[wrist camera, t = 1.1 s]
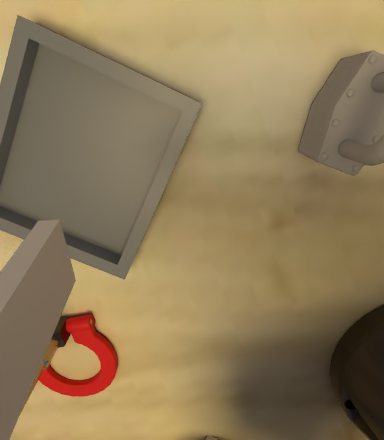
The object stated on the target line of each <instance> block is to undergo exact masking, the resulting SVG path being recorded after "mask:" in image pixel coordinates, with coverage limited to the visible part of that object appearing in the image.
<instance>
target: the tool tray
mask: <svg viewBox="0 0 384 440" xmlns="http://www.w3.org/2000/svg"><path fill="white" fill-rule="evenodd" d="M201 105H202V103H200V102H198V101H196V100H194V99H192V98H190V97H187V96H185V95H183V94H181V93H179V92H177V91H175V90H173V89H171V88H169V87H167V86H165V85H163V84H160V83H158V82H156V81H154V80H152V79H150V78H148V77H146V76H144V75H142V74H140V73H138V72H136V71H133V70H131V69H129V68H127V67H125V66H123V65H121V64H119V63H117V62H115V61H113V60H111V59H108V58H106V57H104V56H102V55H100V54H98V53H96V52H94V51H92V50H90V49H88V48H86V47H84V46H81V45H79V44H77V43H75V42H73V41H71V40H69V39H67V38H65V37H63V36H61V35H59V34H57V33H54V32H52V31H50V30H48V29H46V28H44V27H42V26H40V25H38V24H36V23H34V22H32V21H29V20H27V19H25V18H23V17H21V16H19V15H18V16H17V20H16V24H15V28H14V32H13V36H12V40H11V44H10V48H9V52H8V56H7V60H6V64H5V68H4V72H3V76H2V80H1V84H0V230H2V231H4V232H7V233H9V234H12V235H14V236H17V237H19V238H22V239H25V238H26V237H27V235H28V234H29V233H30V231H31V230H32V229H33V227H34V226H35V225H36V223H37V222H38V221H43V220H60V222H61V226H62V230H63V234H64V238H65V241H66V245H67V249H68V253H69V257H70V258H72V259H74V260H77V261H79V262H82V263H84V264H87V265H89V266H92V267H94V268H97V269H99V270H102V271H104V272H107V273H109V274H112V275H114V276H117V277H119V278H122V279H124V280H125V278H126V276H127V273H128V271H129V269H130V267H131V264H132V262H133V260H134V257H135V255H136V253H137V251H138V248H139V246H140V244H141V241H142V239H143V237H144V235H145V232H146V230H147V228H148V226H149V223H150V221H151V219H152V216H153V214H154V212H155V210H156V207H157V205H158V203H159V201H160V198H161V196H162V194H163V191H164V189H165V187H166V185H167V182H168V180H169V178H170V176H171V173H172V171H173V169H174V166H175V164H176V162H177V160H178V157H179V155H180V153H181V151H182V148H183V146H184V144H185V141H186V139H187V137H188V135H189V132H190V130H191V128H192V126H193V123H194V121H195V119H196V116H197V114H198V112H199V110H200V107H201Z"/></svg>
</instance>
